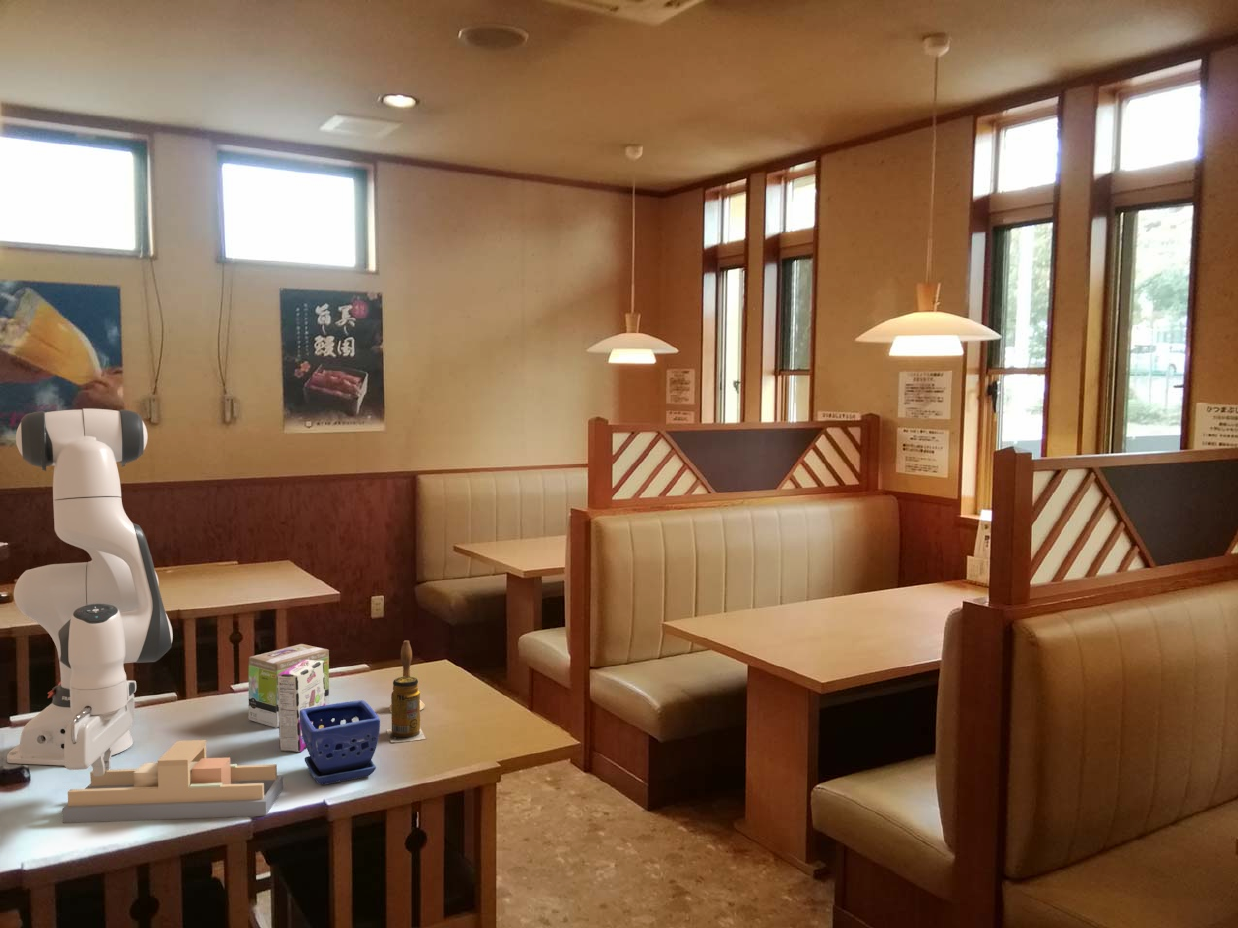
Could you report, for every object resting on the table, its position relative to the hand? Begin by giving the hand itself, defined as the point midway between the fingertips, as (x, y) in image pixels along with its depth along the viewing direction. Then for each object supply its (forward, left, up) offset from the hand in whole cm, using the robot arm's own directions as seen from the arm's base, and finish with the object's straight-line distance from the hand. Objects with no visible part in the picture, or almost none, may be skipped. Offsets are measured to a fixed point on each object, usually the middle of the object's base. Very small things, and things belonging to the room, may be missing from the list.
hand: (101, 772), depth 170 cm
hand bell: (+47, +49, -6) cm, 69 cm away
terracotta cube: (+19, -1, -4) cm, 20 cm away
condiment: (+49, +31, -6) cm, 59 cm away
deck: (+13, -1, -6) cm, 14 cm away
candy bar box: (+28, +28, -6) cm, 41 cm away
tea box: (+21, +46, -6) cm, 51 cm away
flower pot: (+39, +11, -6) cm, 41 cm away
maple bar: (+12, -1, -4) cm, 12 cm away
